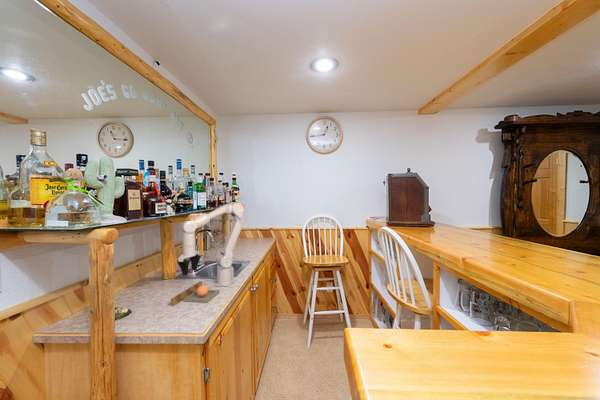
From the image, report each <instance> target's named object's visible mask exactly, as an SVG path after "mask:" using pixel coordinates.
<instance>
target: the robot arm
mask: <svg viewBox="0 0 600 400" xmlns="http://www.w3.org/2000/svg"><path fill="white" fill-rule="evenodd" d="M225 213H226V214H227V213H228V214H230V215H231V217H232V219H233V223H232V225H231V227H230V230H229V233H228V235H227V238H226V240H225V243H224V245H223V247H222V248H221V250H220V251H219V253H218V254H216V256H215V258H214V260H215V263H216V264H217V266H216V279H217V280H216V281H217V282H216V283H215V284H213V286H214V287H229V286H231V285H232V284H233V283H234V282H235V281H236V279H235V271H234V270H235V269H234V267H233V265H232V264H233V258H234V249H235V246H236V243H237V241H238V240H239V239H238V238H239V236H240V234H241V231H242V228H243V225H244V223H245V220H246V218H245V207H244V205H243V204H242V203H241V202H238V201H237V202H234V201H231V202H229V203H226V204H223V205H221V206H219V207H217V208H215V209H214V210H211V211H209V212H208V213H205V212H203V213H202V212H200V213H198V215H195V216H194V217H190V218H189V220H185V221H183V222H182V223H181V226H180V229H181V231H182V236H181V237H182V253H181V254H180V256H178V258H177V261H176V263H177V265H178V266H179V268H180V270H181V274H182V275H183V276H188V274H189V265H191V271H198V270H197V269H198V266H199V262H200V259H201V258H202V255H200V253H201V252H200V250H196V248H197V247H196V234H195V233H196V232H195V231H196V230H197V229H200V228H202V227H204V226H205V225H207V224H209V223H210V220H212V219H214V218H217V217H219V216H221V215H223V214H225ZM188 259H189V260H188Z"/></svg>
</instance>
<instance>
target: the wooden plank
mask: <svg viewBox="0 0 600 400" xmlns="http://www.w3.org/2000/svg"><path fill="white" fill-rule="evenodd" d="M202 285H203V281H202V280H201V281H198V282H196V283H195V284H193V285H192V286H189V287H188V288H187V289H185V290H183V291H182V292H180V293H179V294H177V295H175V296H174V297H172V298H170V304H171V307H175V306H176V305H178V304H179V303H181V302H182V301H183V300H184V299H185V298H186V297H188V296H189V295H191V294H192V293H194V292H195V291H197V289H198V287H200V286H202Z"/></svg>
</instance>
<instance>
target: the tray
mask: <svg viewBox="0 0 600 400" xmlns="http://www.w3.org/2000/svg"><path fill="white" fill-rule="evenodd" d="M219 294H220V289H208V293H207V295H205V296H204V297H200V296H198V295H197V291H195V292H194V293H192V294H191V295H189V296H188V297H186V298H185V299H184V302H185V303H198V304H199V303H200V304H201V303H203V304H205V303H206V304H208V303H209V302H210V301H212V300H213V299H214V298H215V297H216V296H218V295H219Z"/></svg>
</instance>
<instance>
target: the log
mask: <svg viewBox="0 0 600 400" xmlns="http://www.w3.org/2000/svg"><path fill="white" fill-rule="evenodd" d="M132 313H133V311H132V310H131V309H129V308H128V307H126V306H123V305H122V306H119V305H116V304H115V321H114V322H116V321H119V320H121V319H124V318H126V317H128V316H129V315H131V314H132Z"/></svg>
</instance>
